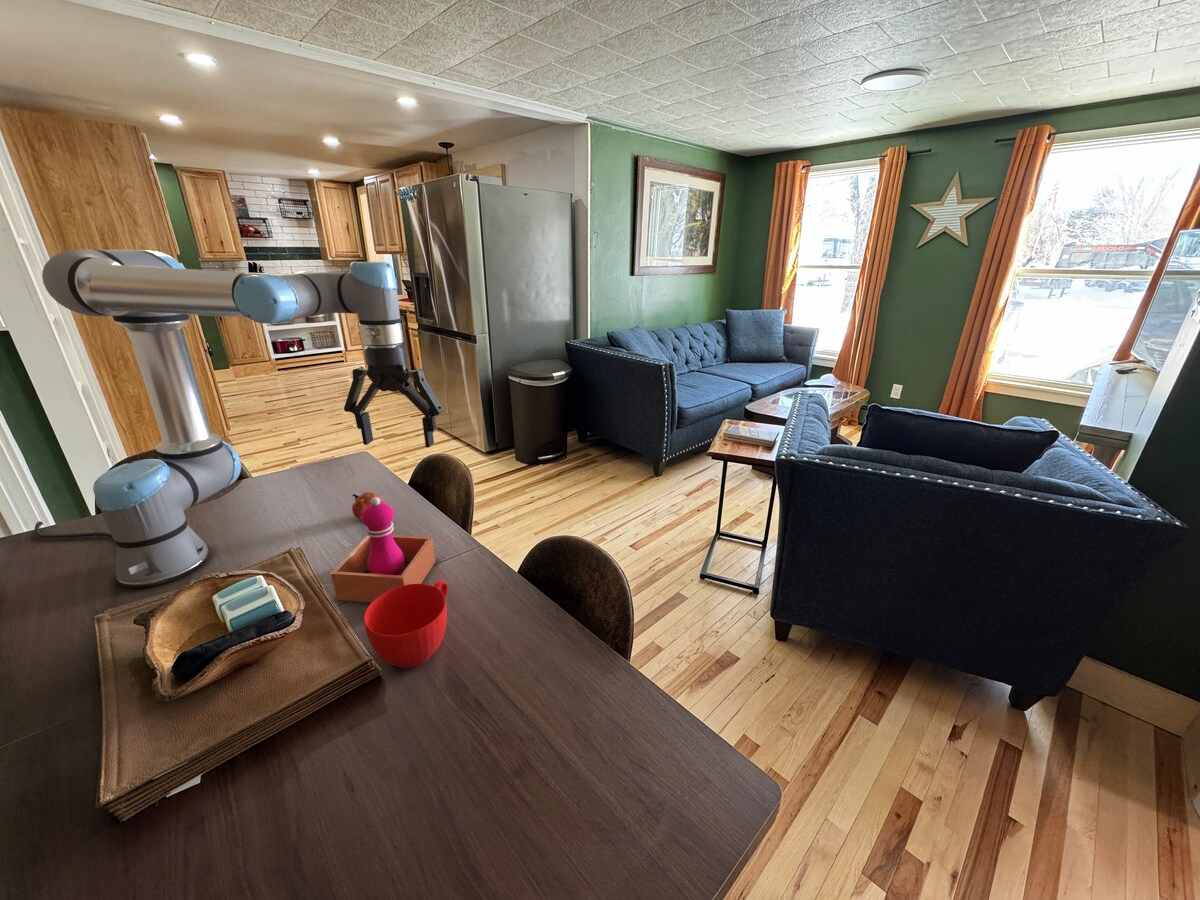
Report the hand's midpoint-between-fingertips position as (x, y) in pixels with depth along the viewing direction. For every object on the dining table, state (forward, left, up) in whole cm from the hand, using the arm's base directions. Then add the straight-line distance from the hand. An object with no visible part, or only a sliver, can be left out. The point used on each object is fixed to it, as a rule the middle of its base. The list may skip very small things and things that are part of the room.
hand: (399, 444), depth 102 cm
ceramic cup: (+22, -23, -27) cm, 42 cm away
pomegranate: (-21, +7, -27) cm, 35 cm away
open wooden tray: (+3, -11, -27) cm, 29 cm away
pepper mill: (+3, -11, -27) cm, 30 cm away
